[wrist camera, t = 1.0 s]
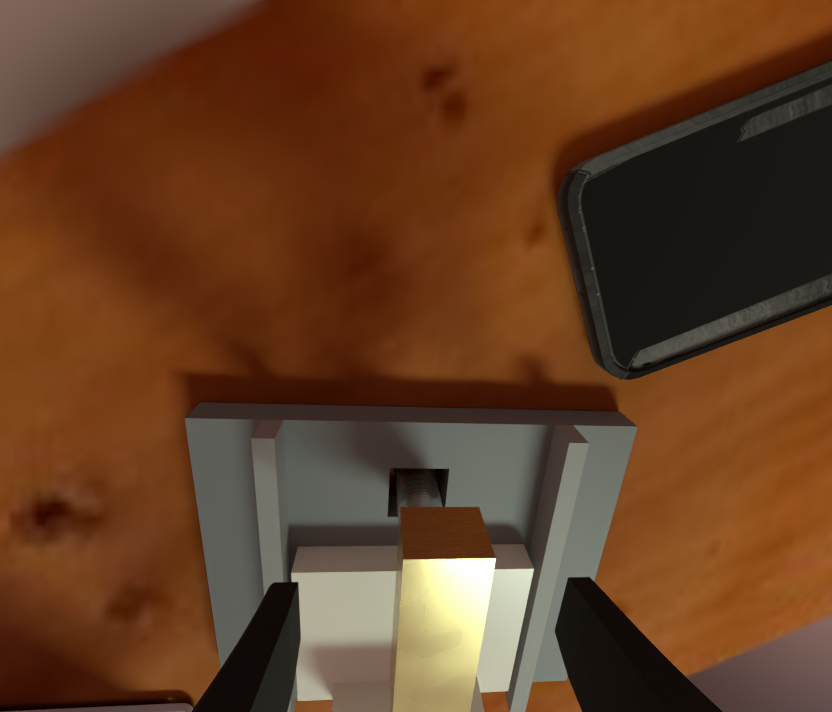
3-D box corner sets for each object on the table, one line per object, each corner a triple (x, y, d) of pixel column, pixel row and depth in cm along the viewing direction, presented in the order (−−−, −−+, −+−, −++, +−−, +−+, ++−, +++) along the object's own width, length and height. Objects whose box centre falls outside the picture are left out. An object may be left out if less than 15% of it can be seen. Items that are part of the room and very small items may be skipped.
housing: (233, 667, 19) (213, 728, 17) (200, 402, 14) (166, 437, 12) (556, 654, 20) (577, 709, 18) (619, 411, 16) (658, 444, 14)
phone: (1017, 234, 14) (609, 389, 15) (972, 233, 15) (594, 377, 16) (1061, -37, 11) (559, 168, 12) (1002, -15, 12) (544, 172, 13)
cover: (303, 669, 18) (283, 785, 14) (298, 546, 15) (272, 647, 12) (500, 662, 19) (528, 768, 15) (523, 544, 16) (563, 637, 13)
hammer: (387, 532, 17) (391, 737, 10) (394, 406, 15) (403, 559, 8) (434, 532, 17) (466, 733, 11) (446, 407, 15) (495, 557, 9)
